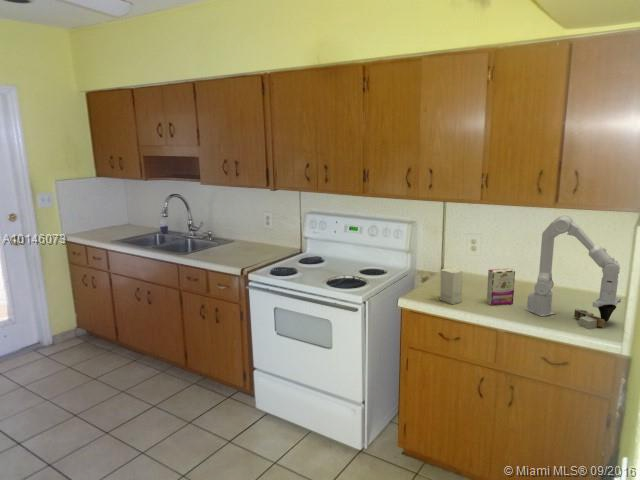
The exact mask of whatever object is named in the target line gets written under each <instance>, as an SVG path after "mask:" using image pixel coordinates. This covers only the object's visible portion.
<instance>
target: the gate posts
mask: <svg viewBox="0 0 640 480" xmlns="http://www.w3.org/2000/svg"><path fill="white" fill-rule="evenodd" d="M590 313H591V314H592V315H593V316H595V315H594V313H592V312H590ZM585 316H586V315H585V314H581V313H580V318H581V317H585ZM580 318H577V322H579V319H580Z"/></svg>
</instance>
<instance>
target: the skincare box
mask: <svg viewBox="0 0 640 480" xmlns="http://www.w3.org/2000/svg"><path fill="white" fill-rule="evenodd" d="M439 296H440V301H442V302H445V303H447V304H450V305H455V304H460V303H462V302H463V300H462V299H463V298H462V297H463V270H461V269H460V270H459V269H455V268H453V267H447V268H443V269H440V295H439Z"/></svg>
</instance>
